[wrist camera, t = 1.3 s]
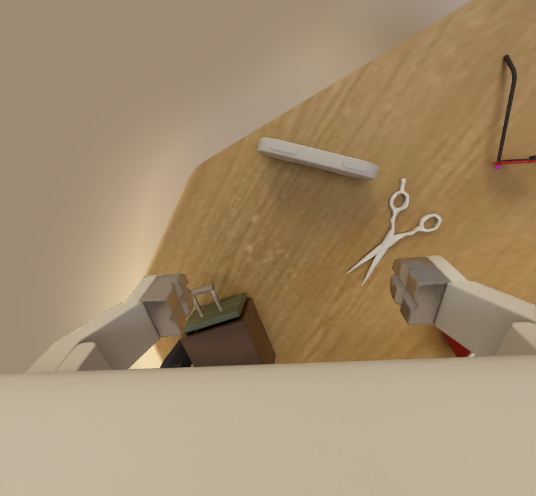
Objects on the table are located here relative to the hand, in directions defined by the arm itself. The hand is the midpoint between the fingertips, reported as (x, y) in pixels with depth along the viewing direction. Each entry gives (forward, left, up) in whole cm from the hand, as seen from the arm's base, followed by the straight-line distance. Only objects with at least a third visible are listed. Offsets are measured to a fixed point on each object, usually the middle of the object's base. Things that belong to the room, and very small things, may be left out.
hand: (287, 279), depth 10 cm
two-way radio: (-22, +31, -38) cm, 54 cm away
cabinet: (-23, +20, -38) cm, 48 cm away
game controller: (+5, -7, -38) cm, 39 cm away
